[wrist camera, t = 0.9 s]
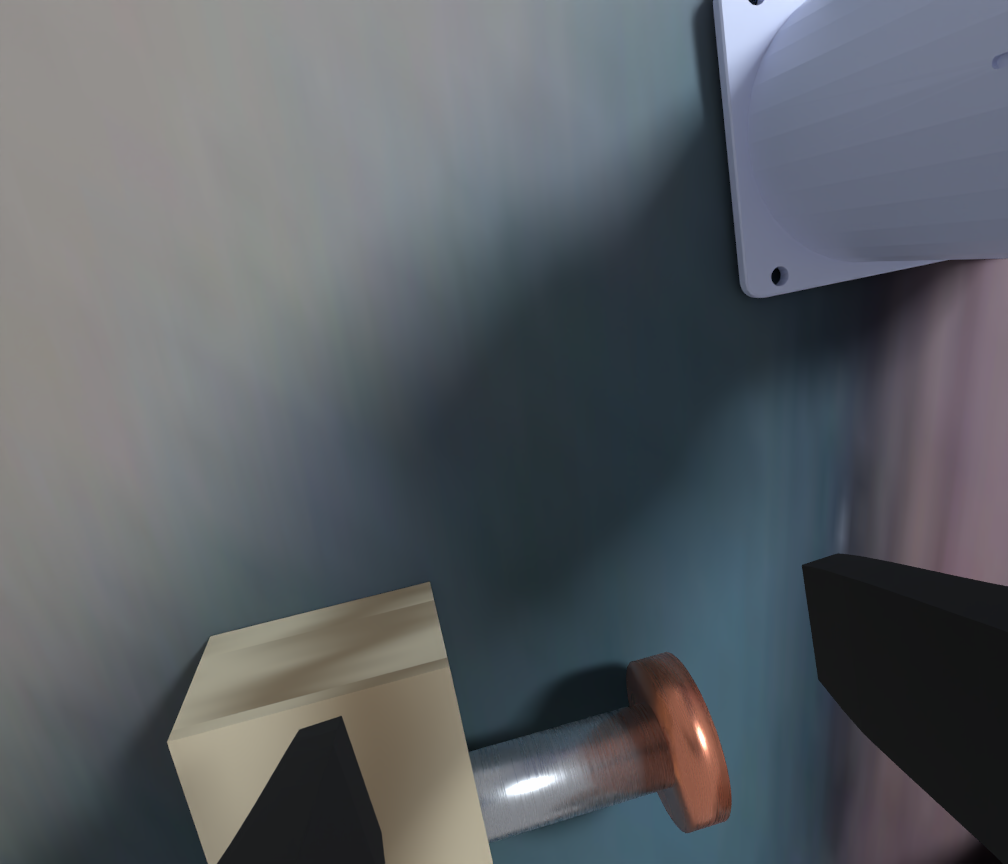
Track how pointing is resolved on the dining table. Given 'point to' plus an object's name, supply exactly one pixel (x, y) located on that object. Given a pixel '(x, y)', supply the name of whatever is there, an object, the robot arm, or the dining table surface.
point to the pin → (612, 760)
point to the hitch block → (329, 694)
